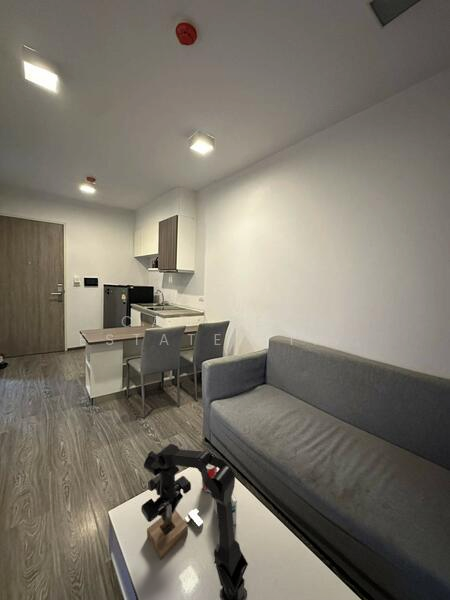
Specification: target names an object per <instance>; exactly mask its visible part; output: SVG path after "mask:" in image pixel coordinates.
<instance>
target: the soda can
mask: <svg viewBox="0 0 450 600" xmlns="http://www.w3.org/2000/svg"><path fill="white" fill-rule="evenodd" d="M206 468H207V471H208V474H209V477H210V478H211V479H212V477H213V476H214V475H215V474H216V473H217V471H218V467H215V466H213V465H210V464H208V465H207V466H206ZM201 486H202V489H203V490H204V491H205V492H207V493H211V492H210V490H209V489H208V488H207V487H206V486H205V485H204V483H203V479H202V478H201Z"/></svg>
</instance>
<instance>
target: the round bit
mask: <svg viewBox="0 0 450 600" xmlns="http://www.w3.org/2000/svg"><path fill="white" fill-rule="evenodd" d="M164 508H165V509H166V516H165V521H163V522H164V524H170V523H171V521H172V501H171V500H170V501H168V502H167V503H165V504H164Z"/></svg>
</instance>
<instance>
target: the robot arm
mask: <svg viewBox="0 0 450 600" xmlns="http://www.w3.org/2000/svg"><path fill="white" fill-rule="evenodd" d="M208 464H210V465H213V466H215V467H217V473H216V474H215V475H214V476H213V477H212V479H211V478H210V477H209V474H208V471H207V468H206V466H207V465H208ZM179 467H186V468H192V469H197V471H199V473H200V475H201V480H202V479H203V483H204V485H205V486H206V487H207V488H208V489H209V490H210V492H209V493H210V497H211V498H212V499H213V501H214V500H215V501H216V504H217V514H216V516H218V517H217V525H218V526H217V527H218V538H219V542H218V543H217V545H216V547H215V548H214V550H213V557H214V562H213V563H214V565H215V568H216V571H217V576H218V580H219V584H220V586H221V588H220V591H219V594H220V596H221V597H222V598H223V600H244V599H245V598H246V596H247V595H248V590H247V589H246V588H245V579H244V577H243V576H244V575H245V572H246V570H247V568H248V566H249V563H248V561H247V559H246V557H245V556H244V554H243V553H242V550H241V547H240V543H239V542H238V541H237V540H236V537H235V526H234V524H233V512H232V500H231V497H232V493H233V494H234V489H235V487H236V486H235V485H236V484H235V483H236V475H235V472H234V471H233V469H232V468H231V467H230V466H229V465H228V464H227V462H225V461H224V459H222V458H219V457H216V456H215V455H213V454H212V453H211V452H210V451H208V450H202V451H201V450H190V449H180V448H179V447H178V445H176V444H172V443H168V445H166V446H165V447H164V448H163V449H161V450H160V451H159V452H158V453H155V452H154V451H152V450H151V451H150V452H149V453H147V456H146V459H145V460H144V463H143V468H144V469H145V470H146V471H148V473H150V474H152V475H153V476H155V477H153V478H151V479H150V480H149V481H147V488H148V491H150V492H152V491H156V495H157V496H158V497H157V498H156V500H154V499H153V498H150V499H148V500H147V501H145V502H144V503H142V505H141V508H140V510H141V513H142V515H143V516H144V518H145V519H146V521H147V522H148V523H151V522H153V520H155V519H156V518H157V517H160V518H161V517H162V520H163V521H165V516H166V509H165V508H164V504H165V503H167V502H168V501H170V500H171V501H172V514H173V513H174V511H175V510H176V509H177V507H178V505H179V503H180V501H181V500H182V499H183V497H184V495H186V494H188V493H189V492H190V491H191V490H192V483H191V481H189V479H188V478H187V477H186V476H184V475H181V476H180V477H179V478H178V479H176V475H177V473H178V472H179V471H180V469H179ZM181 490H182V492H183V494H184V495H183V494H182V492H181Z"/></svg>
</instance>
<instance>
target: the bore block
mask: <svg viewBox="0 0 450 600" xmlns="http://www.w3.org/2000/svg"><path fill="white" fill-rule="evenodd" d="M188 525H189V524H187V522H186V521H185V519H184V518H183V517H182V516H181V515H180V513H179V512H178V511H177V510H176V509H175V511H174V513H173V514H172V521H171V523H170V524H164V522H163V520H162V517H161V516H160V518H159V519H157V520H156V521H154V522H153V523H152V524H151V525H149V527H147V528H146V533H147V534H146V536H147V537H146V538H147V540H148V542H149V543H150V545H151V546H152V548H153V550H154V552H155V553H156V556H158V558H159V560H160V561H161V560H162V559H164V557H165V556H166V555H167V554H169V553H170V552H171V551H172V550H173V549H174V548H175V547H176V546H177V545H178V544H179V543H180V542H182V540H183V539H185V538H186V537H187V535H188V533H189V526H188ZM169 528H170V529H171V530H170V531H169V532H168V533H167V534H166V535H165V532H166V531H167V530H168V529H169Z"/></svg>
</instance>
